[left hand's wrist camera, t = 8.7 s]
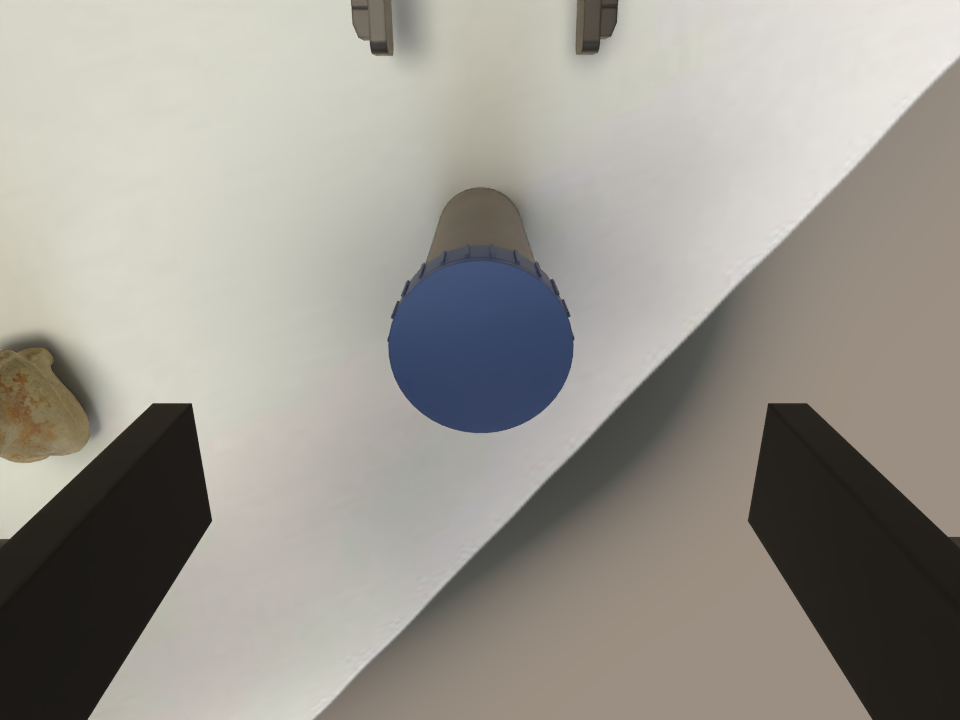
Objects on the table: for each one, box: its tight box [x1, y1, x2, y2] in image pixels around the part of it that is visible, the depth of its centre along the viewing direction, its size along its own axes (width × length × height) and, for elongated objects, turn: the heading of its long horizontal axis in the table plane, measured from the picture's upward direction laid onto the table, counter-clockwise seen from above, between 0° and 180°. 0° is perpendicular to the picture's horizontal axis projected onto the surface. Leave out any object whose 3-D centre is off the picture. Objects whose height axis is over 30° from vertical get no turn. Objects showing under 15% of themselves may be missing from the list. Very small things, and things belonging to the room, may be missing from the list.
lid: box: [388, 243, 574, 433], centre depth 21 cm, size 6×6×2 cm
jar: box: [426, 188, 535, 264], centre depth 28 cm, size 5×5×18 cm
